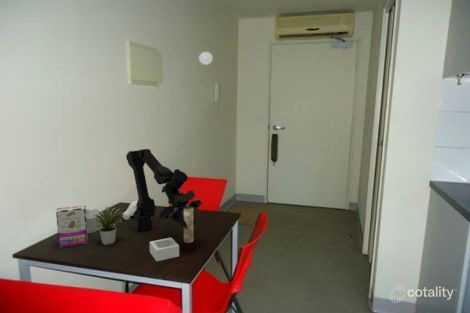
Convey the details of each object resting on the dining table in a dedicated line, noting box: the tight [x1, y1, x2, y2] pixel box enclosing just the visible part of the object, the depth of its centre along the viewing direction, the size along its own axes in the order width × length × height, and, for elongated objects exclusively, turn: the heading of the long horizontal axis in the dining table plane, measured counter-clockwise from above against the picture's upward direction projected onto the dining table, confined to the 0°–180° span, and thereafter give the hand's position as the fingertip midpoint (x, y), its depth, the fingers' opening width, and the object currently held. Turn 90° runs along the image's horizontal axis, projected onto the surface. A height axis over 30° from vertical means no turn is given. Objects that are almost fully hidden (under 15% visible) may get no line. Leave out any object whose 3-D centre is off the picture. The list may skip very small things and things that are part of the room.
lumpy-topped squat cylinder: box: [86, 208, 105, 234], centre depth 157 cm, size 10×13×9 cm
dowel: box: [183, 207, 194, 244], centre depth 132 cm, size 4×4×14 cm
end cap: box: [149, 237, 180, 262], centre depth 130 cm, size 9×9×4 cm
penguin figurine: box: [122, 200, 138, 221], centre depth 173 cm, size 6×8×12 cm
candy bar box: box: [55, 205, 88, 249], centre depth 137 cm, size 11×5×16 cm, turn 114°
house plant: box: [92, 206, 124, 246], centre depth 139 cm, size 14×14×16 cm
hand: (190, 226), depth 131 cm, fingers closed on dowel, 4 cm apart
